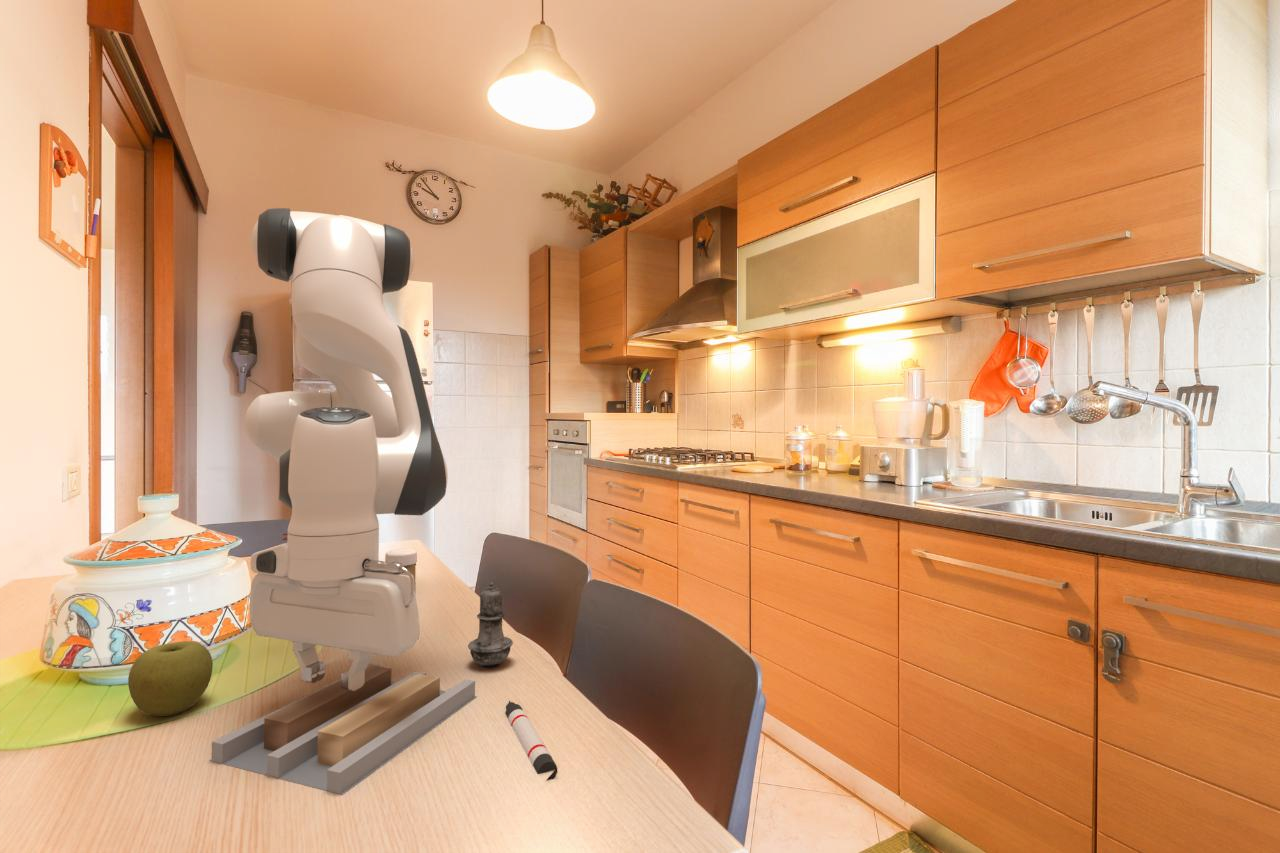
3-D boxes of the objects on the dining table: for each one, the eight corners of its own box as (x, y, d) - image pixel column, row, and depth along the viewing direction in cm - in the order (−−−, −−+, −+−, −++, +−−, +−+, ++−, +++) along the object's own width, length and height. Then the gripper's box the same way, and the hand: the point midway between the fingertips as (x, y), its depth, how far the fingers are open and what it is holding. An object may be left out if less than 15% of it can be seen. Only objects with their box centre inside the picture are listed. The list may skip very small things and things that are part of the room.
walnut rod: (263, 748, 58) (264, 718, 58) (370, 690, 71) (370, 665, 71) (287, 754, 57) (287, 723, 57) (390, 693, 70) (391, 668, 70)
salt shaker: (501, 681, 76) (502, 587, 76) (459, 676, 77) (460, 584, 77) (519, 663, 82) (520, 576, 82) (480, 660, 83) (481, 574, 83)
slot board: (209, 768, 56) (209, 741, 56) (368, 684, 75) (368, 663, 75) (342, 803, 51) (342, 773, 51) (477, 703, 70) (477, 681, 70)
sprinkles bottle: (387, 645, 88) (388, 555, 89) (381, 636, 92) (382, 550, 92) (419, 639, 91) (420, 551, 91) (411, 630, 95) (412, 547, 95)
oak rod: (317, 763, 56) (317, 731, 56) (417, 699, 69) (418, 673, 69) (342, 769, 55) (342, 736, 55) (439, 703, 68) (439, 677, 68)
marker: (557, 780, 55) (557, 759, 55) (537, 786, 54) (537, 764, 54) (516, 710, 69) (517, 693, 69) (499, 713, 68) (500, 696, 68)
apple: (216, 689, 73) (217, 631, 73) (206, 717, 66) (207, 652, 66) (137, 703, 69) (138, 642, 69) (118, 733, 62) (119, 665, 62)
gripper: (433, 557, 64) (431, 686, 64) (289, 544, 70) (288, 661, 70) (391, 570, 58) (389, 712, 58) (238, 555, 64) (236, 682, 64)
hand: (332, 684), depth 64 cm, fingers open, 4 cm apart
